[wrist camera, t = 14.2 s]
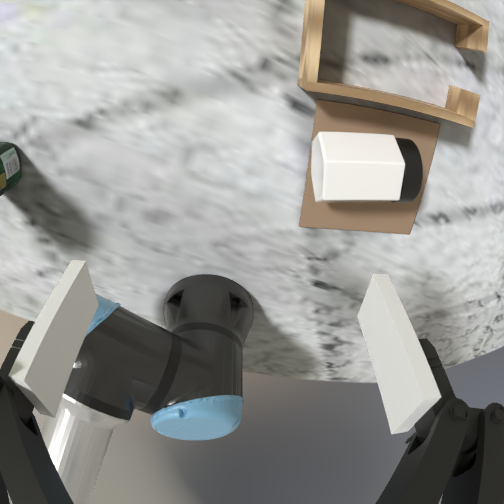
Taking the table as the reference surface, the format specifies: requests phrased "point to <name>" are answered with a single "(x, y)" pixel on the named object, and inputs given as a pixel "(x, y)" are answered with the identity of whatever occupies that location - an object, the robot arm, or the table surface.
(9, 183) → the coffee jar
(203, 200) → the table surface
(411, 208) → the mat
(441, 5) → the crate
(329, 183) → the jar
